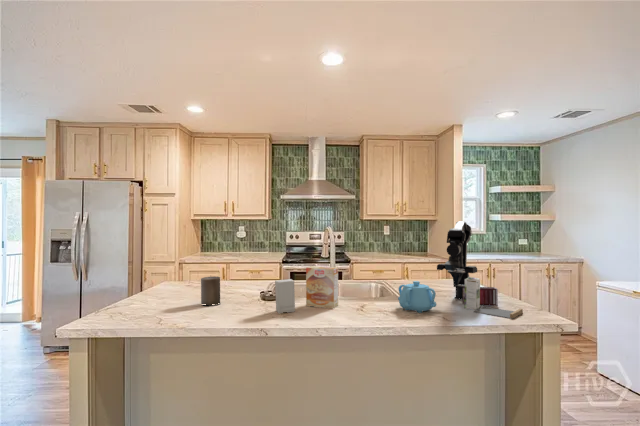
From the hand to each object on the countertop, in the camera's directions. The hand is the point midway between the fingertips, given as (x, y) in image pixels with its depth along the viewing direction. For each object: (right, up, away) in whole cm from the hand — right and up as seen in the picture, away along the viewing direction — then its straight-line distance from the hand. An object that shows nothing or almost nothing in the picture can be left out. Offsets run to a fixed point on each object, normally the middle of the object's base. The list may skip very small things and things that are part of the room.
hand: (456, 285), depth 185 cm
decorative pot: (-22, -10, -8) cm, 26 cm away
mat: (+14, -10, -15) cm, 22 cm away
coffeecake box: (-67, -11, +1) cm, 68 cm away
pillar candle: (-125, -11, +7) cm, 126 cm away
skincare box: (-85, -11, -10) cm, 86 cm away
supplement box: (+20, -6, +1) cm, 21 cm away
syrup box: (+5, -10, -6) cm, 13 cm away
